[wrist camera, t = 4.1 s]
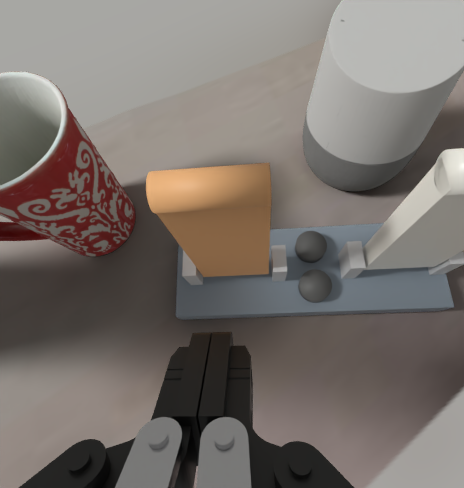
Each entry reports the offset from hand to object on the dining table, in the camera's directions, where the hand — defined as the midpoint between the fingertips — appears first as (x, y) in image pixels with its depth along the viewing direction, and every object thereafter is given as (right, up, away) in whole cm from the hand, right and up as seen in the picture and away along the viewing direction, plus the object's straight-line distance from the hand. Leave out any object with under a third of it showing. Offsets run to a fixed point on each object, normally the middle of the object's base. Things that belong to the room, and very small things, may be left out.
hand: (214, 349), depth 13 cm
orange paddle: (+1, +2, +12) cm, 13 cm away
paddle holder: (+7, +2, +15) cm, 17 cm away
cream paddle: (+13, +3, +11) cm, 17 cm away
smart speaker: (+12, +12, +19) cm, 25 cm away
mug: (-14, +6, +19) cm, 24 cm away
